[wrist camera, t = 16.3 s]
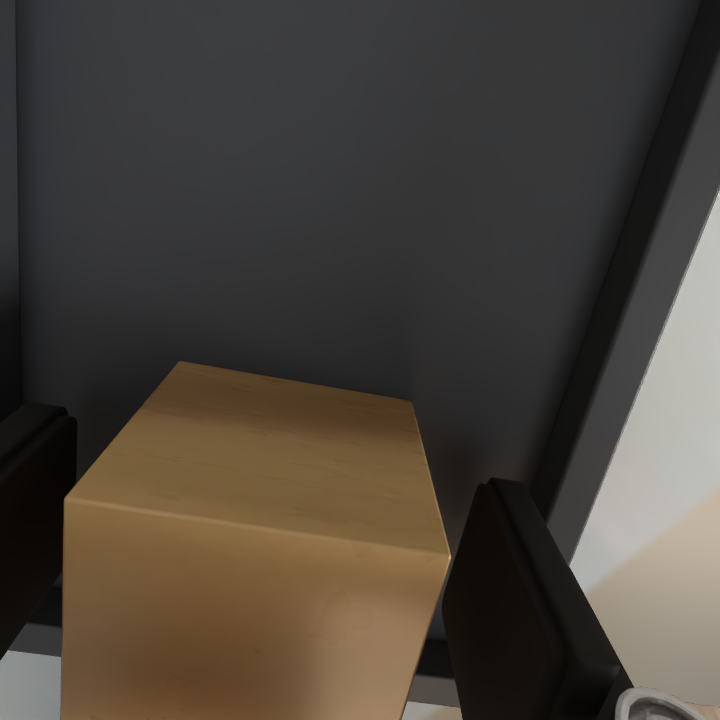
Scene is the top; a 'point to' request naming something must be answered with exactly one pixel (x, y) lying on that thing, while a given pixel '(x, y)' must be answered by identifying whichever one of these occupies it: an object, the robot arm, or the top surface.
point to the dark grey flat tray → (358, 221)
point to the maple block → (251, 556)
